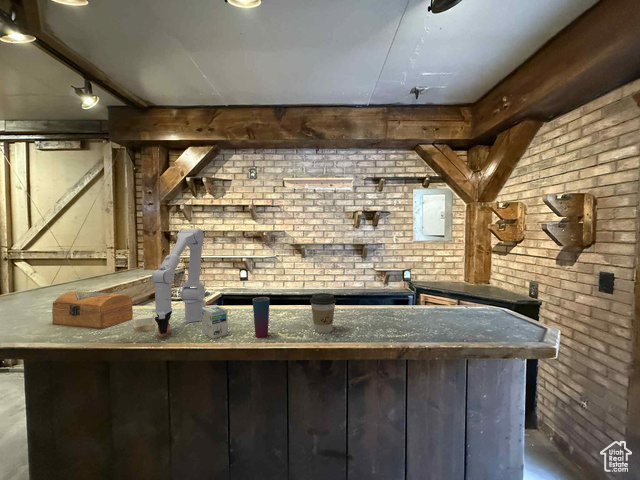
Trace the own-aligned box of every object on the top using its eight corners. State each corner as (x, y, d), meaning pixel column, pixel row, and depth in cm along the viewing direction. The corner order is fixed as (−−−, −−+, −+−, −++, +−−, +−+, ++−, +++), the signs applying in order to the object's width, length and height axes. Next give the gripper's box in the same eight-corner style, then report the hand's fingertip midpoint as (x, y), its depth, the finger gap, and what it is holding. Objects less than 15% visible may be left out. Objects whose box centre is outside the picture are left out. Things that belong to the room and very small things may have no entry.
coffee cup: (317, 337, 107) (317, 300, 107) (305, 328, 117) (305, 294, 117) (341, 332, 112) (341, 296, 112) (328, 324, 122) (328, 291, 122)
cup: (266, 339, 105) (265, 301, 105) (250, 338, 107) (249, 300, 106) (272, 333, 112) (272, 297, 112) (257, 332, 113) (256, 296, 113)
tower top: (153, 320, 121) (153, 313, 121) (152, 324, 116) (152, 317, 116) (137, 322, 119) (137, 315, 119) (135, 326, 113) (135, 319, 113)
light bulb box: (228, 334, 111) (228, 308, 110) (212, 339, 106) (211, 312, 106) (217, 328, 118) (216, 304, 118) (201, 332, 113) (201, 307, 113)
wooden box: (49, 325, 124) (48, 295, 124) (88, 315, 140) (87, 288, 140) (97, 331, 116) (97, 299, 116) (133, 319, 132) (132, 291, 132)
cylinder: (170, 332, 114) (170, 322, 114) (169, 335, 110) (169, 326, 110) (158, 333, 112) (158, 324, 112) (157, 337, 108) (157, 327, 108)
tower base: (155, 326, 122) (155, 320, 122) (153, 331, 116) (153, 324, 115) (136, 329, 119) (136, 322, 119) (133, 334, 113) (133, 327, 112)
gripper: (154, 296, 115) (155, 327, 116) (149, 303, 102) (150, 339, 103) (172, 294, 118) (173, 324, 119) (170, 301, 105) (171, 336, 106)
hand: (164, 331), depth 111 cm, fingers closed on cylinder, 4 cm apart
